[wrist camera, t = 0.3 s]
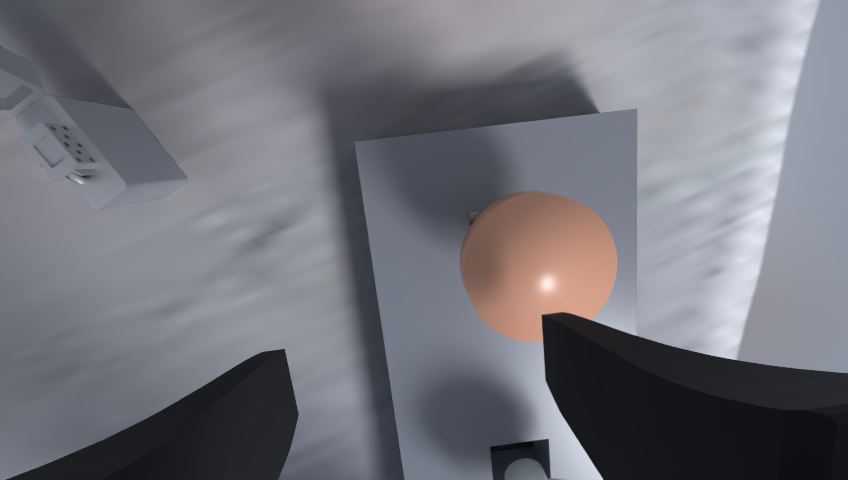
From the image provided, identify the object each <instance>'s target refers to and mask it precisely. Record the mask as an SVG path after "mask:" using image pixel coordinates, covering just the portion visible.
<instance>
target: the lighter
mask: <svg viewBox="0 0 848 480" xmlns="http://www.w3.org/2000/svg"><path fill="white" fill-rule="evenodd" d="M0 114H1V115H3V116H6V117H16V123H17V124H18V125H19V126H20V128H21V129H22V130H23V131H24V132H25V134H23V135H22V136H21V137H20V138H19V141H20V142H21V144H22V145H23V146H24V147H25V148H26V149H27V150H28V152H29V153H30V154H31V155H32V156H33V157H34V158H35V159H36V161H37V162H38V163H39V164H40V165H41V166H42V167H43V168H44V170H45V171H46V172H47V173H48V174H49V175H50V176H51V178H52V179H53V180H54V181H57V180H67V181H68V182H69V183H70V185H71V186H72V187H73V188H74V189H75V190H76V191H77V193H78V194H79V195H80V196H81V197H82V198H83V199H84V201H85V202H86V203H87V204H88V205H89V206H90V207H91V208H92V209H104V208H110V207H115V206H121V205H127V204H133V203H138V202H144V201H150V200H155V199H161V198H165V197H167V196H168V195H169V194H171V193H172V192H174V191H175V190H176V189H178V188H179V187H181V186H182V185H183V184H185V183H186V182H187V176H186V175H185V174H184V173H183V171H182V170H181V169H180V168H179V166H178V165H177V164H176V163H175V161H174V160H173V159H172V158H171V156H170V155H169V154H168V153H167V151H166V150H165V149H164V148H163V146H162V145H161V144H160V143H159V141H158V140H157V139H156V138H155V136H154V135H153V134H152V133H151V131H150V130H149V129H148V128H147V126H146V125H145V124H144V123H143V121H142V120H141V119H140V118H139V116H138V115H137V114H136V113H135V111H134V110H133V109H128V108H123V107H117V106H111V105H105V104H99V103H94V102H88V101H82V100H76V99H70V98H64V97H59V96H53V95H47V94H45V92H44V89H43V86H42V84H41V81H40V78H39V76H38V73H37V71H36V68H35V65H34V63H32V62H30V61H28V60H26V59H25V58H23V57H21V56H19V55H17V54H15V53H13V52H11V51H9V50H7V49H5V48H3V47H1V46H0Z"/></svg>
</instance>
